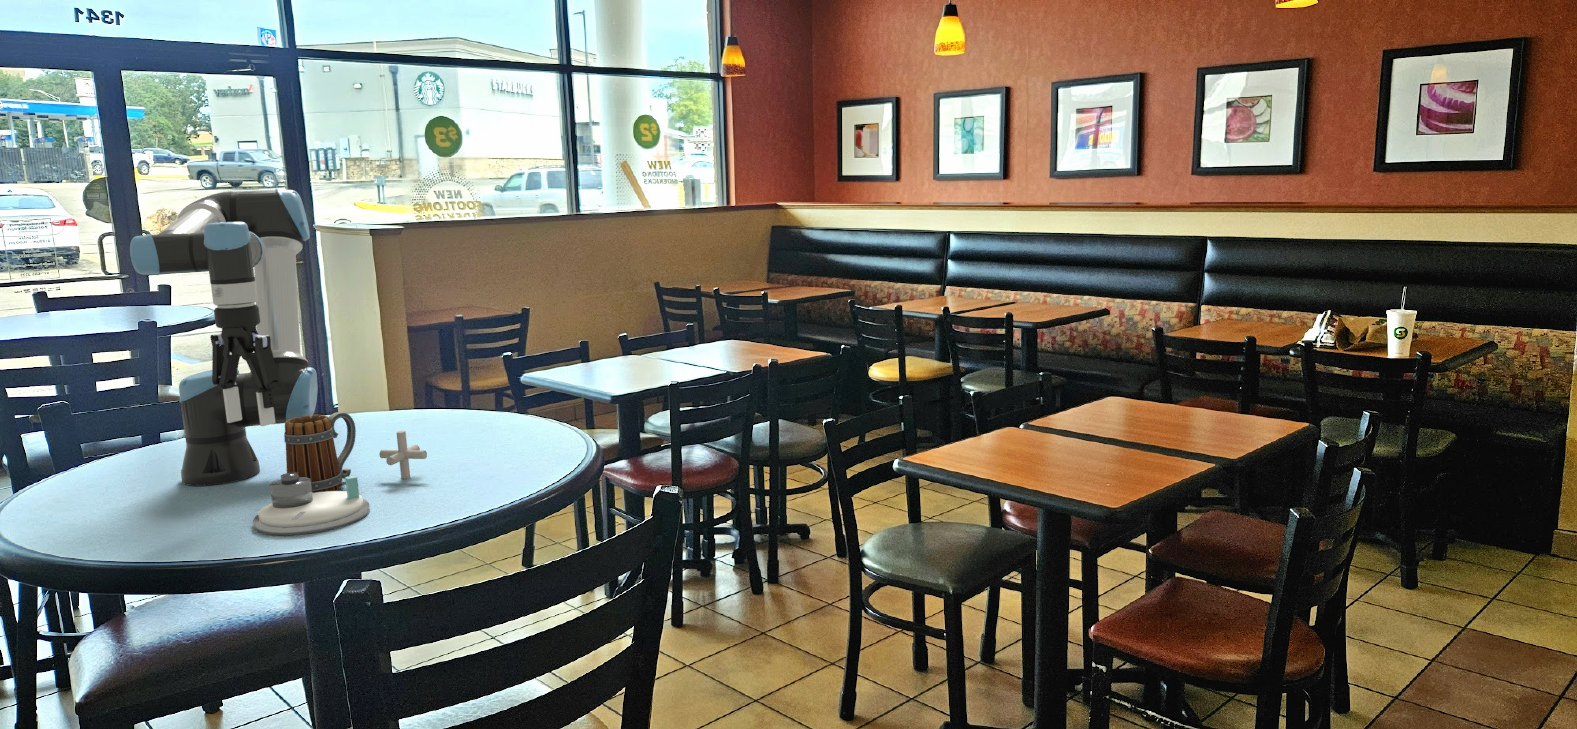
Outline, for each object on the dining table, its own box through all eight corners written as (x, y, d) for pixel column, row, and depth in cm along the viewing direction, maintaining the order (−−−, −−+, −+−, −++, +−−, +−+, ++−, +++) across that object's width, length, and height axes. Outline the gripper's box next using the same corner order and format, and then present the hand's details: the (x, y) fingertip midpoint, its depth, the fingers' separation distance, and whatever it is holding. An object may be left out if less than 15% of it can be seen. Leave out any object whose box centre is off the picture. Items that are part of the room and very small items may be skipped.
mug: (308, 500, 214) (299, 427, 211) (276, 494, 219) (267, 422, 217) (374, 480, 227) (367, 410, 224) (343, 474, 232) (335, 406, 230)
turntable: (237, 520, 198) (233, 493, 197) (318, 493, 214) (315, 468, 213) (305, 531, 190) (302, 503, 189) (384, 502, 206) (381, 476, 205)
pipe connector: (414, 485, 222) (409, 437, 220) (371, 484, 224) (365, 437, 222) (439, 471, 232) (434, 426, 230) (397, 470, 234) (392, 425, 232)
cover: (264, 506, 203) (260, 477, 202) (295, 495, 209) (292, 468, 208) (290, 510, 200) (286, 481, 199) (321, 499, 206) (317, 471, 205)
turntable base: (229, 528, 198) (228, 522, 198) (319, 497, 216) (318, 491, 215) (305, 541, 189) (304, 534, 189) (392, 508, 207) (392, 502, 207)
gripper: (180, 306, 203) (196, 423, 207) (257, 309, 193) (272, 431, 197) (216, 301, 210) (231, 414, 214) (292, 303, 200) (306, 422, 204)
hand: (251, 422), depth 206 cm, fingers open, 9 cm apart
